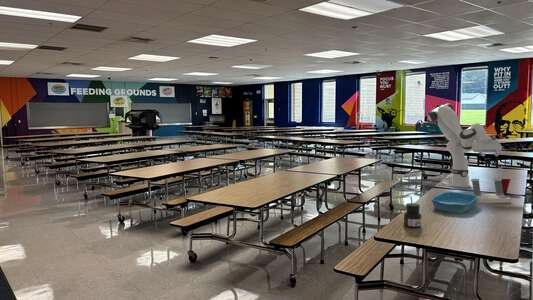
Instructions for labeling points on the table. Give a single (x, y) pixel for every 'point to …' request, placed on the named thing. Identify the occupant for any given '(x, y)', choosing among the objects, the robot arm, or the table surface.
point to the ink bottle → (412, 216)
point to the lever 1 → (476, 187)
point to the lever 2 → (498, 186)
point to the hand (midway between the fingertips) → (490, 155)
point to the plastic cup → (505, 183)
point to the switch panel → (492, 199)
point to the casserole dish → (454, 202)
